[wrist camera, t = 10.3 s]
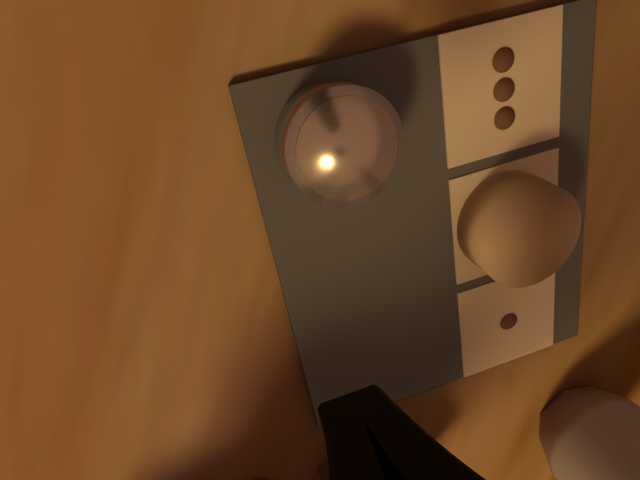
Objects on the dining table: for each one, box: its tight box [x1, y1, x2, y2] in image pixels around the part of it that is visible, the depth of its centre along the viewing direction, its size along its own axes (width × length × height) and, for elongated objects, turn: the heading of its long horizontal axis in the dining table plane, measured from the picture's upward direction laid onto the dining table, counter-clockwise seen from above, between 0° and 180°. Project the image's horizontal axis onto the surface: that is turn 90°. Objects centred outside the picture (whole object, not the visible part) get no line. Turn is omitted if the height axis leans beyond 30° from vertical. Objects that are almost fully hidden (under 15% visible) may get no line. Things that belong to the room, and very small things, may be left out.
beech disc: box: [457, 170, 581, 288], centre depth 21 cm, size 4×4×2 cm
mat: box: [228, 0, 597, 429], centre depth 22 cm, size 14×16×1 cm
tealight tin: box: [274, 79, 404, 208], centre depth 18 cm, size 4×4×2 cm
